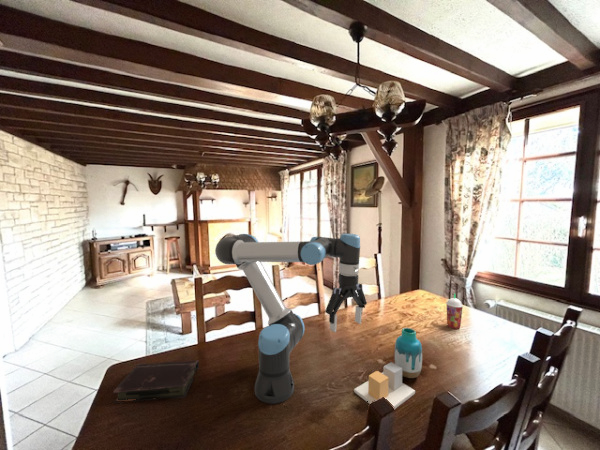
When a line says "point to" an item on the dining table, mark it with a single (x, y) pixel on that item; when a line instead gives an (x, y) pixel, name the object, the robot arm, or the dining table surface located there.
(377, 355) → the dining table surface
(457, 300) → the smoothie
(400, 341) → the vase
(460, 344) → the dining table surface
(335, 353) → the dining table surface
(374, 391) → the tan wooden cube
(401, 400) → the plate
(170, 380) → the diary
